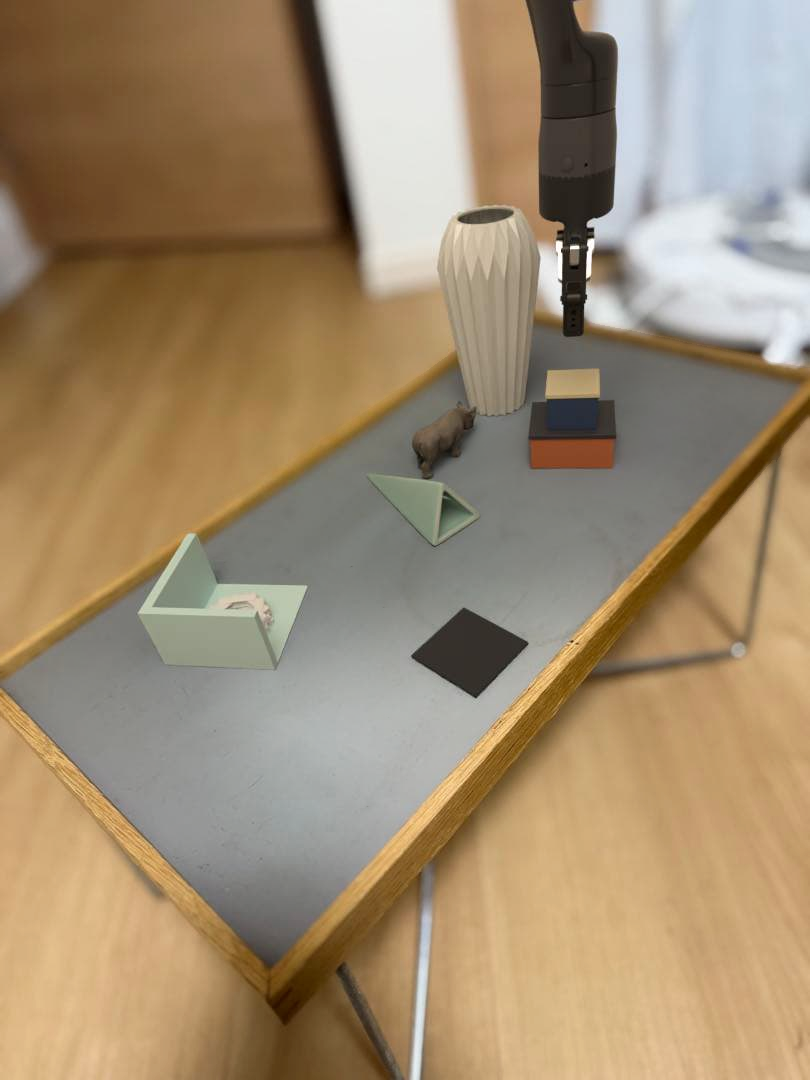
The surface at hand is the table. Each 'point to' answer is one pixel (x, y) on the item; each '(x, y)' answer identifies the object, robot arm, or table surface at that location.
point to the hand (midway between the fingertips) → (573, 319)
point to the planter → (427, 505)
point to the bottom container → (572, 440)
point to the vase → (491, 302)
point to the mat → (469, 651)
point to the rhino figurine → (442, 436)
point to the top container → (572, 399)
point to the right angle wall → (217, 615)
